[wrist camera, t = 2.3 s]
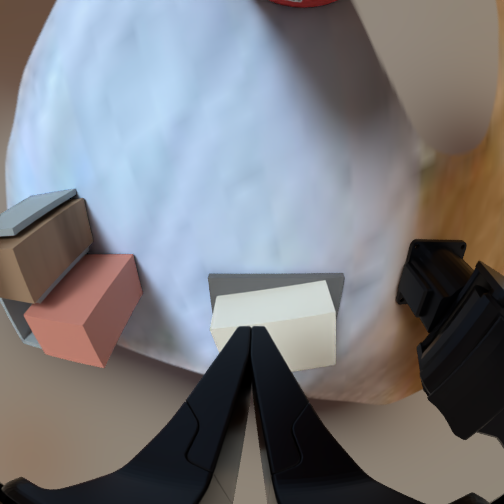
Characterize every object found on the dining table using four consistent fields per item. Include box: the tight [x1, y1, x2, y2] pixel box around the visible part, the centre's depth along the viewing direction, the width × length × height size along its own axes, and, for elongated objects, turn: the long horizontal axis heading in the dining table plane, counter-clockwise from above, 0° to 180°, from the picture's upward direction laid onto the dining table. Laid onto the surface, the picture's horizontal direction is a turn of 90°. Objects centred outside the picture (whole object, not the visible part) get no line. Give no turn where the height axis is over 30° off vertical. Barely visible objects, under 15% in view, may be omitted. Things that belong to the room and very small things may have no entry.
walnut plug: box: [0, 198, 94, 304], centre depth 17 cm, size 6×4×9 cm, turn 91°
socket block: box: [0, 189, 89, 349], centre depth 19 cm, size 6×11×8 cm, turn 1°
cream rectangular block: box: [210, 280, 336, 372], centre depth 23 cm, size 9×6×4 cm, turn 101°
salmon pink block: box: [24, 254, 143, 368], centre depth 19 cm, size 6×4×9 cm, turn 91°
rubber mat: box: [208, 273, 344, 319], centre depth 25 cm, size 11×8×1 cm
